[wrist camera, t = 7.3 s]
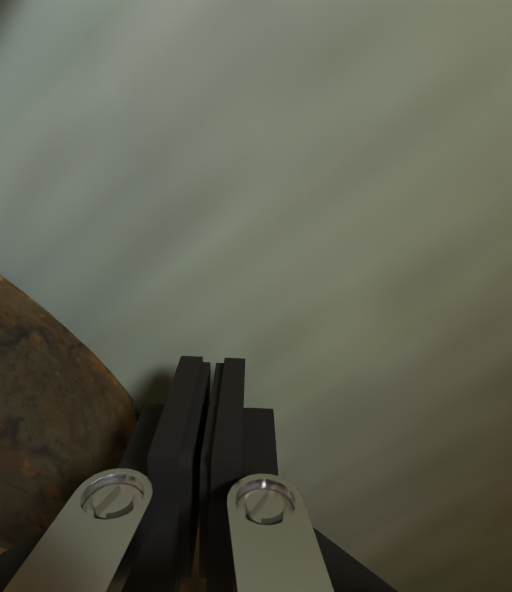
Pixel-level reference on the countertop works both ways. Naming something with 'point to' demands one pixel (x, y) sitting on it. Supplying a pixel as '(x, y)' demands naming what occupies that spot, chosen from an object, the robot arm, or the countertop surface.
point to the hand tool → (54, 420)
